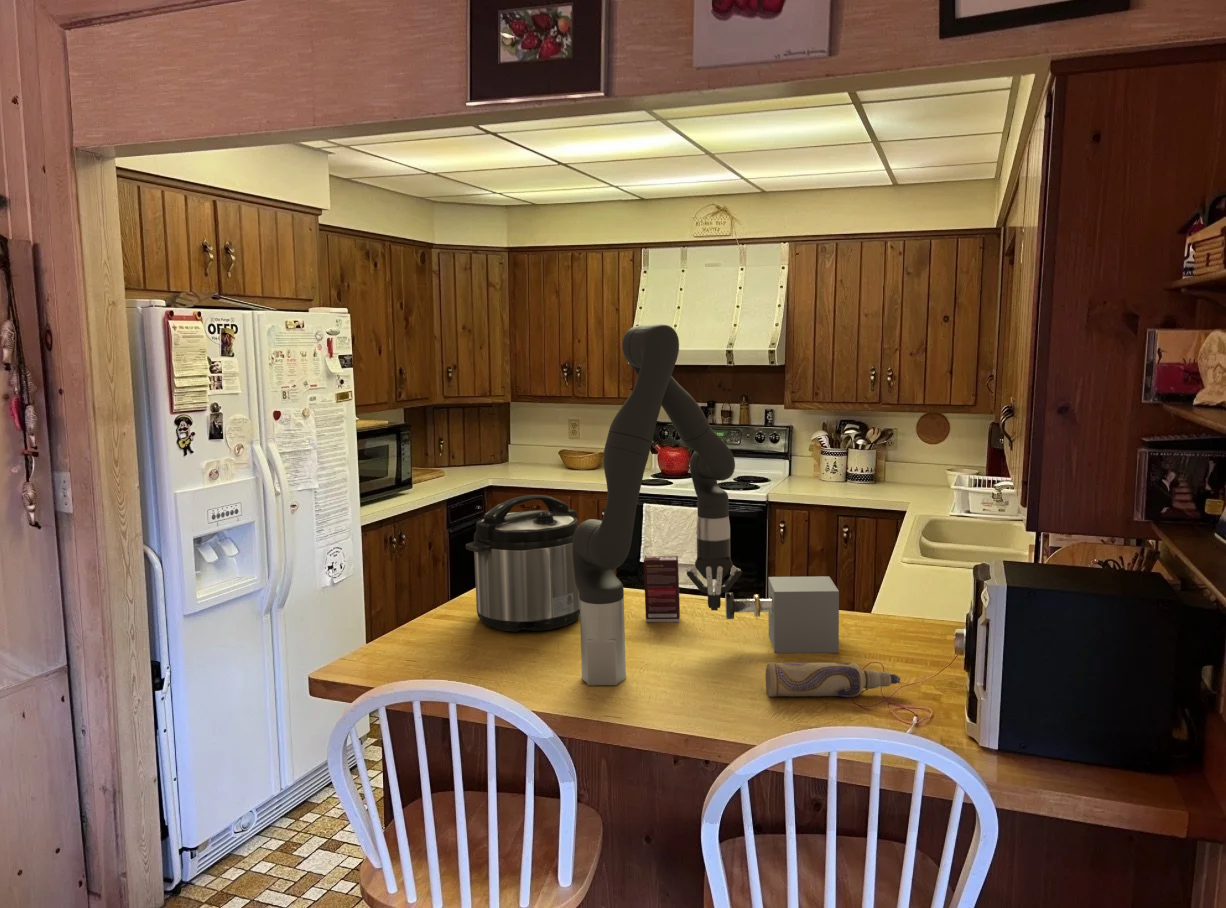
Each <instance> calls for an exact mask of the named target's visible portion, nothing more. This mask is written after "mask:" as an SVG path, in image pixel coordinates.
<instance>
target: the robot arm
mask: <svg viewBox="0 0 1226 908" xmlns="http://www.w3.org/2000/svg"><path fill="white" fill-rule="evenodd" d="M621 347H622V348H621V349H622V353H623V356H624V358H625V360H626V361H627V363H628V364H629V366H631V367H630V368H632V369H633V370H634V372H635V373H636V374H637V375H638V376H637V379H636V382H635V385H634V388H633V390H632V391H631V393H630V394H629V396H628V398H627V399H626V400H625V402H624V403H623V405H622V406H621V407H620V409H619V410H618V412H617V413H616V415H615V416H614V418H613V420H612V422H611V424H610V425H609V428H608V429H609V430H608V433H607V437H606V442H605V445H604V449H603V455H602V459H603V462H602V464H603V470H604V475H605V481H606V489H607V497H606V503H605V504H606V505H605V509H604V512H603V517H602V519H601V520H600V519H593V518H592V519H591V518H590V519H586V520H584V521H583V522H581V523H580V524H578V527H577V529H576V531H575V533H574V537H573V543H572V553H573V566H574V578H575V583H576V586H577V588H578V591H579V602H580V615H579V628H580V632H579V633H580V661H581V663H580V664H581V678H582V679H581V680H582V681H584V682H585V683H586V684H587V686H617V685H619V683H622V682H623V681H625V679H626V677H627V672H626V671H627V670H626V669H627V666H626V660H627V659H626V633H625V626H626V625H625V597H624V596H625V593H624V590H625V589H624V584H623V582H622V581H621V580H620V579H619V578H618V576H616V574H615V572H614V571H613V570H615V569H617V568H619V567H620V566H622V565H623V564H624V562H625V561H626V559H627V557H628V555H629V553H630V549H631V546H632V539H633V533H634V526H635V520H636V519H635V518H636V513H637V506H638V501H639V497H640V493H641V488H642V484H643V483H642V482H643V479H644V474H645V469H646V467H647V464H648V463H647V462H648V460H649V455H650V452H651V448H652V445H653V444H652V443H653V440H654V434H655V430H656V426H657V424H658V423H657V422H658V419H659V415H660V412H661V408H662V409H663V410H664V412H665V413H666V415H667V416H668V418H669V420H670V421H671V424H672V425H673V427H674V429H675V431H676V433H677V434H678V436H679V438H680V440H681V442H682V444H684V446H685V447H686V448H687V449H690V450H692V451H693V453H692V454H691V458H690V461H689V470H690V477H691V480H692V483H693V488H694V492H695V494H696V498H697V504H696V505H697V508H696V509H697V512H696V513H697V520H696V532H695V533H696V560H695V561H694V565H693V566H692V567H691V568H687V569H686V575H687V577H688V578H689V579H690V581H691V582H692V583H693V584H694V585H695V586H696V588H697V589H698V590H699V591H700V592H701V593H705V594H706V595H707V606H708V609H710V611H714V612H715V611H718V609H720V608H721V603H722V602H721V601H722V600H721V595H722V594H724V593H729V591H730V589H731V588H732V587H733V586H734V585H735V583H736V582H737V581H738V580H739V578H740V577H741V576H742V570H741V568H739V567H736V566H735V565H734V564H733V561H732V559H731V558H732V557H731V523H730V518H729V517H730V516H729V515H730V514H729V513H730V512H729V511H730V508H729V506H730V504H729V494H728V493H727V491H725V490H724V489H723V488H721V487H720V486H719V483H718V481H721V482H722V481H726V480H728V479H730V478H731V477H732V476H733V474H734V473H735V468H736V462H735V461H736V460H735V457H734V454H733V452H732V450H731V449H730V448H729V446H728V445H727V444H726V443H725V442H724V440H723V439H721V437H720V436H719V435H718V434H717V433H716V432H715V430H713V429H712V427H711V424H710V423H709V420H708V419H707V417H706V415H705V414H704V411H703V409H702V408H701V406H700V405H699V404H698V402H697V401H696V400H695V399H694V397H692V395H691V394H690V393H689V392H688V391H687V390H686V389H685V388H684V387H682V385H680V383H679V382H678V381H677V380H675V378H674V377H673V376H672V374H673V371H674V369H675V366H676V363H677V360H678V356H679V352H680V340H679V335H678V333H677V332H676V329H674V328H673V327H672V326H670V325H669V324H661V323H660V324H640V325H635V326H632V327H631V328H629V329H628V330H627V331H625V334H624V336H623V338H622V343H621ZM698 572H699V574H700V575H701V576H702V577H703V579H705V580H706V585H705V584H704V583H703V582H702V580H700V578H699V577H698V576H699V575H698ZM729 572H730V573H729ZM728 573H729V574H730V576H729V577H728V578H727V580H726V581H725V582H724V583H722V582H723V579H725V577H726V576H727V575H728ZM713 580H714V581H715V582H714V584H713ZM722 584H723V585H722ZM713 585H714V586H713Z"/></svg>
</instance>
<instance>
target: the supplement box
mask: <svg viewBox="0 0 1226 908" xmlns="http://www.w3.org/2000/svg"><path fill="white" fill-rule="evenodd" d="M679 572H680V571H679V556H678V555H649V556H648V555H645V556H644V559H643V579H644V606H645V611H644V612H645V623H679V622H680V619H681V618H680V617H681V611H680V610H681V609H680V608H681V605H680V604H681V603H680V579H679V578H680V577H679V575H680V574H679Z"/></svg>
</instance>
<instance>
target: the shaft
mask: <svg viewBox="0 0 1226 908" xmlns="http://www.w3.org/2000/svg"><path fill="white" fill-rule="evenodd" d="M734 596H735V595H734V592H725V596H724V597H725V600H724V601H725V602H724V603H725V618H726V620H735V613H753V615H754V617H755V618H757V617H758V618H760V616H761V613H769V612H772V599H768V598H760V594H753V598H735V597H734Z"/></svg>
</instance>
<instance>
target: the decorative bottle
mask: <svg viewBox="0 0 1226 908" xmlns="http://www.w3.org/2000/svg"><path fill="white" fill-rule="evenodd" d="M900 683H901V678H900V676H899V675H898V674H894V673H890V672H888V671H879V672H878V671H877V670H873V669H864V670H862V669H861V668H860V666H859V665H858V664H857V663H855V662H843V661H842V662H827V661H826V662H772V661H771V662H767V663H766V668H765V687H766V693H767V695H768V697H772V698H773V697H841V698H851V699H852V698H856V697H858V696H860V695H861V694H863V693H864V692H866V691H868V690H870V689H871V690H872V689H877V688H879V687H881V688H883V687H890V686H891V685H892V684H893V685H897V684H900ZM863 689H865V690H863Z"/></svg>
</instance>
